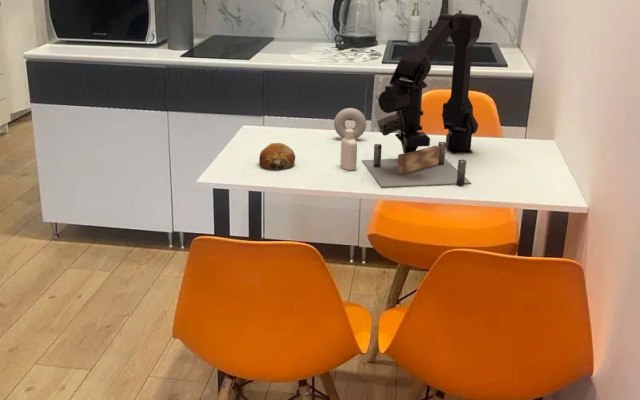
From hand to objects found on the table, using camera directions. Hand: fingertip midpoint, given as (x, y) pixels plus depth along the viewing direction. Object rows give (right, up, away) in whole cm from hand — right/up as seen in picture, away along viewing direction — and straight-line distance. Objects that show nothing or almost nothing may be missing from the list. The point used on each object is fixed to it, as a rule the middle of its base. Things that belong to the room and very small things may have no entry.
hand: (407, 161), depth 196 cm
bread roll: (-36, -1, +2) cm, 36 cm away
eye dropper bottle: (-16, -2, +1) cm, 16 cm away
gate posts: (+2, -4, -5) cm, 6 cm away
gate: (+3, -2, -2) cm, 4 cm away
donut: (-15, +8, +27) cm, 32 cm away
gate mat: (+2, -3, -2) cm, 4 cm away
